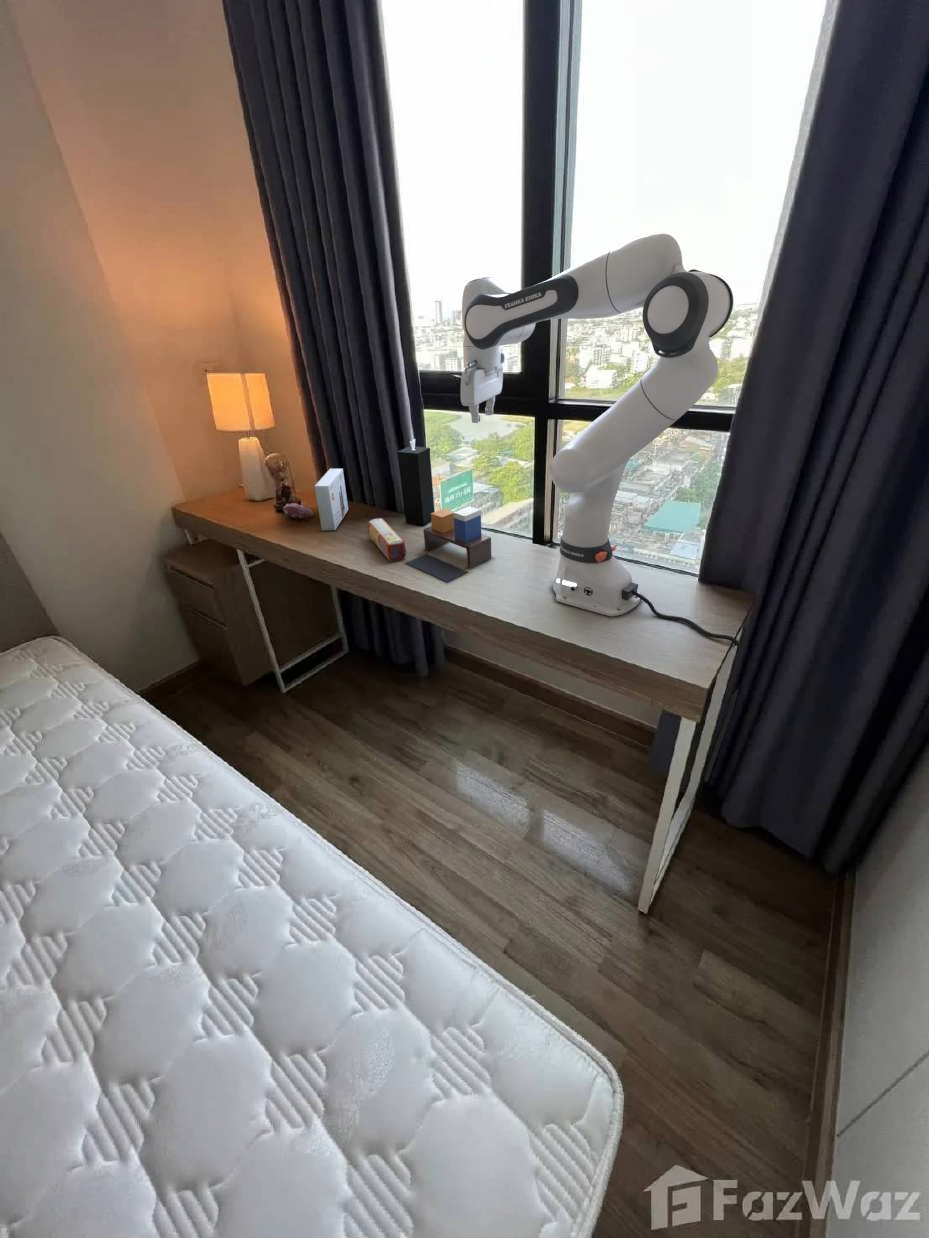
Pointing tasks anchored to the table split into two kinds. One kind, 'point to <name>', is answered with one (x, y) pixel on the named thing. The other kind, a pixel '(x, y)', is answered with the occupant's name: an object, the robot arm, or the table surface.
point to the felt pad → (437, 568)
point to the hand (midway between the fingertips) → (482, 418)
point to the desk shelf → (475, 548)
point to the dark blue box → (467, 524)
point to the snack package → (386, 539)
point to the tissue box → (416, 484)
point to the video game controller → (297, 510)
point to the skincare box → (331, 499)
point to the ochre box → (442, 520)
